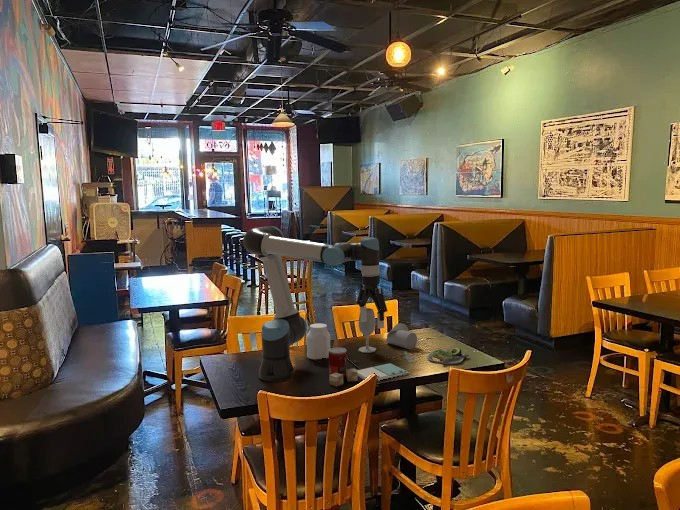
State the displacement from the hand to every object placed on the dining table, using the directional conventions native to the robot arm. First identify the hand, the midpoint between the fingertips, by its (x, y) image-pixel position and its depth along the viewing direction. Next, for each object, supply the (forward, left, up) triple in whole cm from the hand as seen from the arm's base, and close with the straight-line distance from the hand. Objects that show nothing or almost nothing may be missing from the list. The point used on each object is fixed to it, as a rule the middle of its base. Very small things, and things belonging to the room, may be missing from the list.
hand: (372, 324), depth 214 cm
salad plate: (+43, +1, -23) cm, 48 cm away
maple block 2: (-9, +2, -23) cm, 24 cm away
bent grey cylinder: (+40, +32, -23) cm, 56 cm away
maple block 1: (-17, +1, -23) cm, 28 cm away
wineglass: (+18, +31, -23) cm, 42 cm away
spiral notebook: (+5, +1, -23) cm, 23 cm away
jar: (-6, +37, -23) cm, 44 cm away
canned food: (-11, +10, -23) cm, 27 cm away
